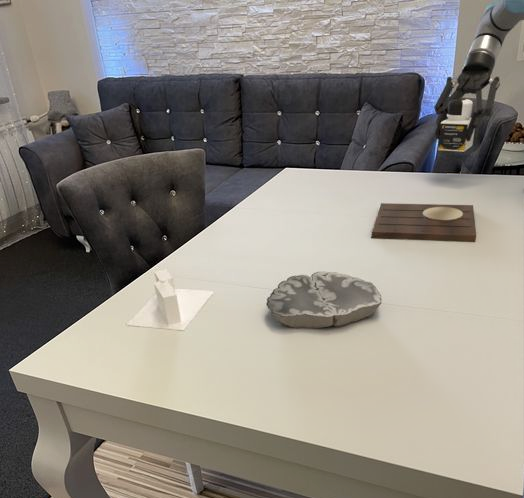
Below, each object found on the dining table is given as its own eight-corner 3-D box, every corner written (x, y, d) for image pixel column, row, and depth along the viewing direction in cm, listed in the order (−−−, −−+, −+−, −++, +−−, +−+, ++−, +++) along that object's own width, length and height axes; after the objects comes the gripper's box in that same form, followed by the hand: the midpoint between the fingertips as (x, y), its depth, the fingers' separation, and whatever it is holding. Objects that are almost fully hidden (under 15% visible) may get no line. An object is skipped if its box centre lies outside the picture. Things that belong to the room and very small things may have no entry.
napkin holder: (184, 330, 91) (179, 300, 88) (125, 325, 94) (118, 296, 91) (214, 291, 103) (211, 263, 100) (161, 287, 106) (156, 260, 103)
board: (472, 211, 130) (473, 204, 129) (475, 241, 114) (476, 234, 113) (380, 208, 136) (380, 202, 135) (371, 238, 120) (371, 230, 119)
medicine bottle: (437, 150, 144) (442, 101, 137) (446, 144, 149) (451, 97, 142) (464, 152, 140) (470, 102, 134) (472, 146, 145) (479, 97, 139)
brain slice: (358, 280, 103) (358, 266, 101) (391, 323, 89) (392, 307, 87) (258, 294, 101) (256, 280, 99) (275, 340, 86) (274, 324, 85)
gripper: (522, 69, 140) (493, 148, 138) (446, 70, 151) (418, 143, 149) (520, 48, 134) (490, 130, 132) (441, 51, 144) (412, 126, 142)
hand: (452, 137), depth 140 cm, fingers closed on medicine bottle, 7 cm apart
